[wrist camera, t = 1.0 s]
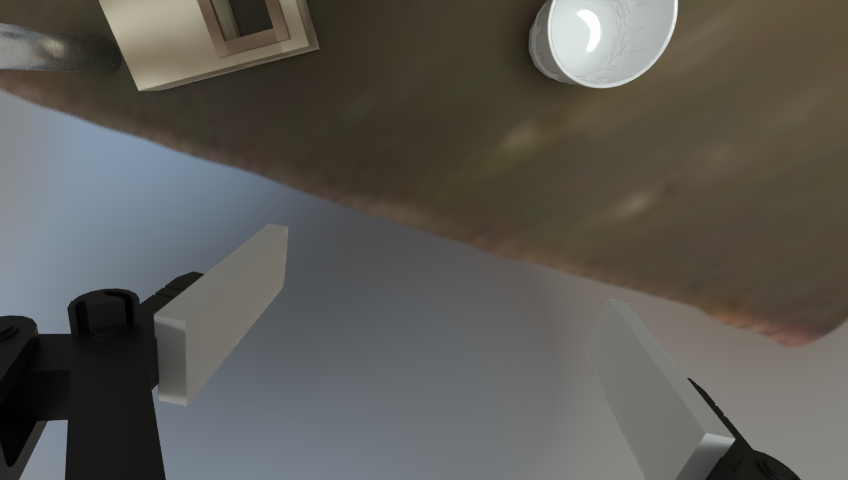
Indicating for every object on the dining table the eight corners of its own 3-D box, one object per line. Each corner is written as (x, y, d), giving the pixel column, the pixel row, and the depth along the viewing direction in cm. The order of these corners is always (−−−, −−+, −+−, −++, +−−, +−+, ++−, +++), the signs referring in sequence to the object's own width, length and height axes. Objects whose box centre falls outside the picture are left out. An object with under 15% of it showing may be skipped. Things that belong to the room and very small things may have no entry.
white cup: (529, 98, 36) (557, 102, 27) (513, 2, 33) (538, -31, 24) (619, 73, 35) (681, 68, 26) (609, -28, 32) (675, -75, 23)
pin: (82, 41, 37) (-79, 22, 25) (110, 33, 36) (-41, 10, 25) (98, 76, 38) (-50, 71, 26) (126, 68, 37) (-13, 60, 26)
